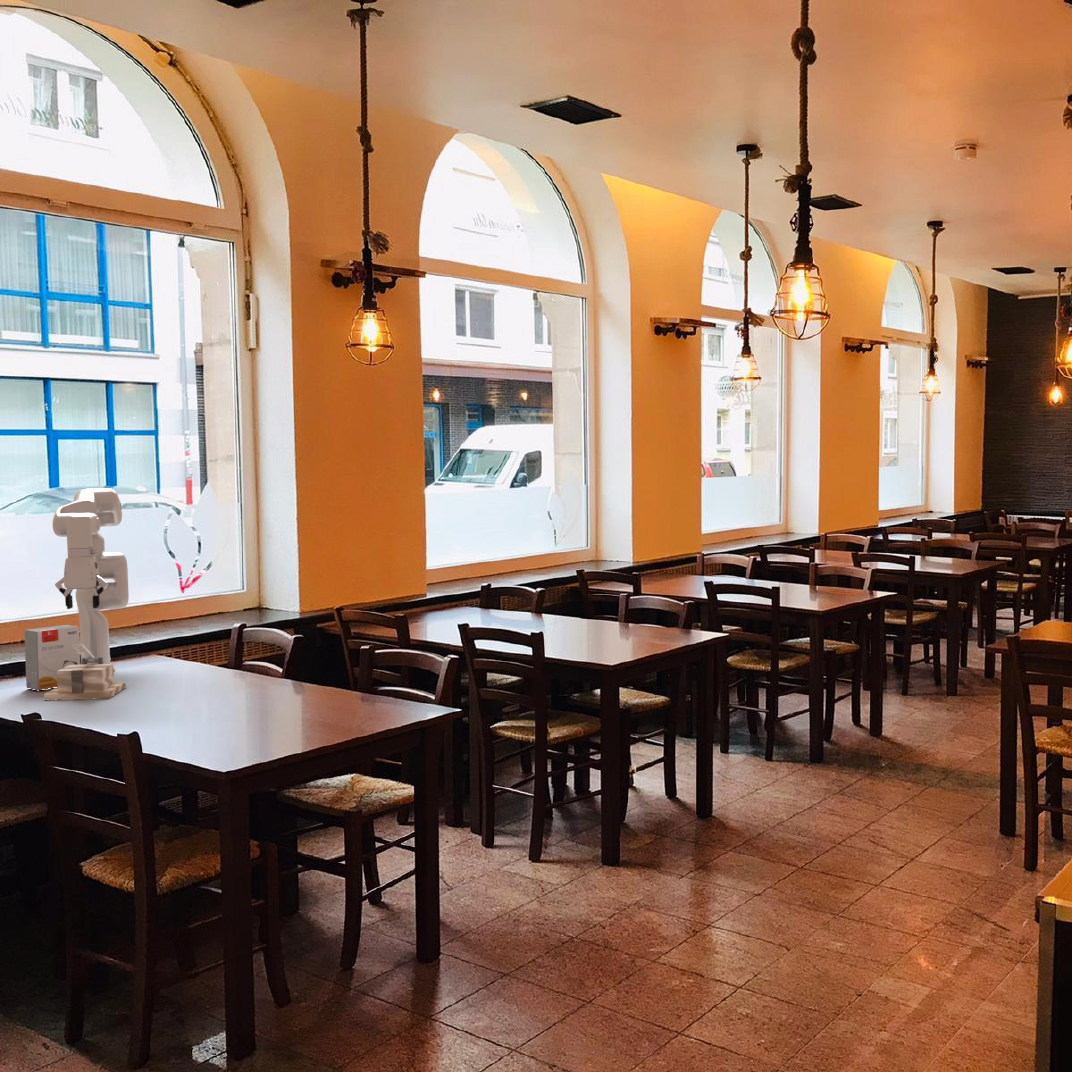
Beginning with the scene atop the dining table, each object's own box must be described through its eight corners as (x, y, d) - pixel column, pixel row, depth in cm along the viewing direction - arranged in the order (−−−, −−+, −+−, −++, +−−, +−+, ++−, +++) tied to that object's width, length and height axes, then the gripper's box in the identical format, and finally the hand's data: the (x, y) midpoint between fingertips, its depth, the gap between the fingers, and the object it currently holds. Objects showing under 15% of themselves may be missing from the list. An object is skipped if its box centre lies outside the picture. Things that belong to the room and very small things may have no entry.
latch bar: (87, 663, 370) (87, 659, 371) (98, 663, 371) (98, 659, 371) (71, 646, 356) (71, 643, 357) (82, 646, 357) (82, 642, 357)
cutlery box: (64, 689, 372) (62, 657, 371) (126, 687, 373) (124, 656, 372) (44, 700, 355) (42, 667, 354) (108, 698, 356) (107, 665, 355)
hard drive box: (38, 692, 368) (35, 631, 366) (25, 689, 372) (22, 629, 371) (82, 684, 380) (79, 625, 379) (69, 681, 385) (66, 623, 383)
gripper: (111, 551, 366) (114, 606, 367) (57, 553, 365) (59, 607, 366) (103, 554, 358) (106, 609, 359) (48, 555, 357) (50, 610, 359)
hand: (82, 607), depth 363 cm, fingers open, 7 cm apart
